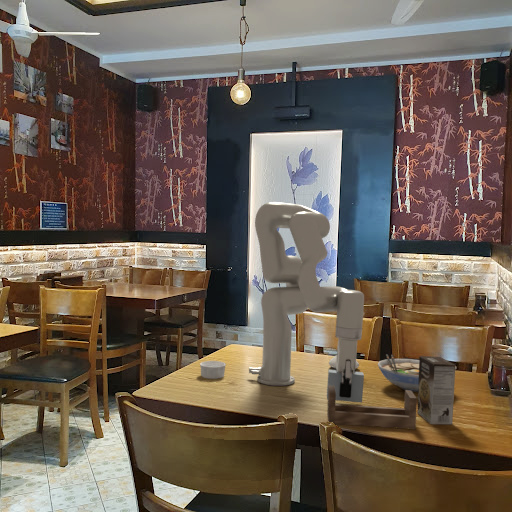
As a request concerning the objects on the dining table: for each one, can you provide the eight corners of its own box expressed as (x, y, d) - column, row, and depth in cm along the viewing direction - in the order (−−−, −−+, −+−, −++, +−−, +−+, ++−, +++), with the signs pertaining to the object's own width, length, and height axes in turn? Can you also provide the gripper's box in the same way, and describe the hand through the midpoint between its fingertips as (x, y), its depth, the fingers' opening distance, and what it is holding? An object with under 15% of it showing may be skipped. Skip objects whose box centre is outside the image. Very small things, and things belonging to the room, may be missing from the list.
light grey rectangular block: (327, 399, 146) (328, 372, 146) (326, 396, 149) (328, 369, 149) (362, 402, 145) (363, 375, 145) (360, 399, 148) (362, 372, 148)
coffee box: (416, 412, 141) (418, 355, 141) (438, 413, 142) (440, 356, 142) (430, 424, 132) (432, 363, 132) (453, 424, 133) (456, 363, 132)
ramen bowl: (456, 403, 151) (457, 376, 151) (378, 396, 156) (379, 370, 156) (442, 381, 176) (443, 358, 176) (375, 376, 180) (376, 353, 180)
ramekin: (224, 380, 169) (224, 367, 169) (198, 379, 169) (198, 366, 169) (226, 373, 178) (226, 361, 178) (201, 372, 178) (201, 360, 178)
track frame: (328, 423, 131) (329, 392, 130) (327, 414, 138) (328, 385, 137) (415, 429, 128) (416, 398, 128) (409, 419, 135) (411, 390, 135)
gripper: (334, 326, 155) (330, 385, 156) (337, 337, 138) (332, 403, 139) (358, 328, 154) (354, 387, 155) (364, 339, 138) (360, 405, 139)
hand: (344, 394), depth 147 cm, fingers closed on light grey rectangular block, 3 cm apart
